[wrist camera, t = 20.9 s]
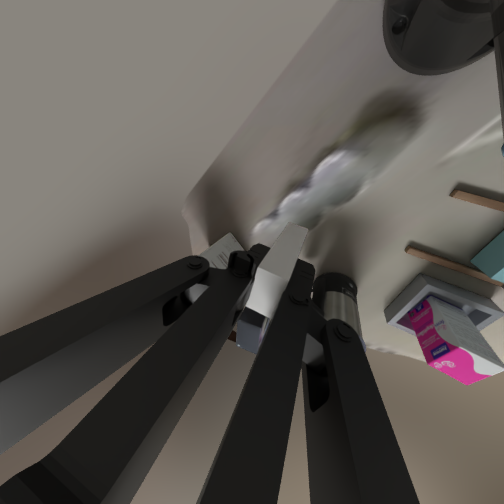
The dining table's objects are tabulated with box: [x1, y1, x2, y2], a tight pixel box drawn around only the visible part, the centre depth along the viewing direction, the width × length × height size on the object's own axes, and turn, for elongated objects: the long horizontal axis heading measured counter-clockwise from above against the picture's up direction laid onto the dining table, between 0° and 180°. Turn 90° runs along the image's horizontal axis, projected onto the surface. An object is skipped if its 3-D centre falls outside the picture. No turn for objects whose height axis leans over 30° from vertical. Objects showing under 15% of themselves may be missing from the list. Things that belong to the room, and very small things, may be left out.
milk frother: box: [310, 273, 366, 352], centre depth 38 cm, size 14×16×15 cm
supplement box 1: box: [198, 232, 245, 269], centre depth 42 cm, size 10×9×17 cm
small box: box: [236, 307, 270, 354], centre depth 50 cm, size 11×6×10 cm, turn 176°
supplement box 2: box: [407, 295, 504, 385], centre depth 30 cm, size 6×6×12 cm
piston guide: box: [405, 189, 504, 288], centre depth 27 cm, size 11×16×3 cm
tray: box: [384, 273, 504, 336], centre depth 34 cm, size 11×11×4 cm
